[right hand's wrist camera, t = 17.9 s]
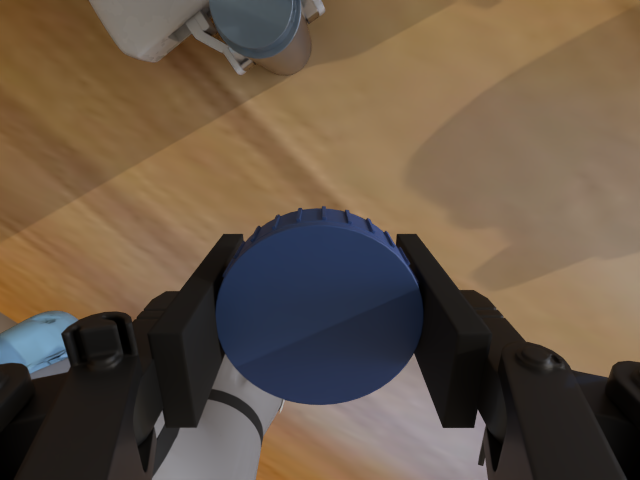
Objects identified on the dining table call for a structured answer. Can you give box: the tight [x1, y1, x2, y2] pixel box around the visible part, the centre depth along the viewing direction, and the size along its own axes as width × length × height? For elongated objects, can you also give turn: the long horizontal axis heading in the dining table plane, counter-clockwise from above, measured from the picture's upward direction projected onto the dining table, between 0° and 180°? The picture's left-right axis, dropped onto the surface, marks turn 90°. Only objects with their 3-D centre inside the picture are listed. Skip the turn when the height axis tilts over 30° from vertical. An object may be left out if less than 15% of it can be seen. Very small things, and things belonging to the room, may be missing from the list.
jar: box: [208, 0, 312, 76], centre depth 25 cm, size 5×5×15 cm
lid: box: [215, 206, 424, 405], centre depth 11 cm, size 6×6×2 cm
